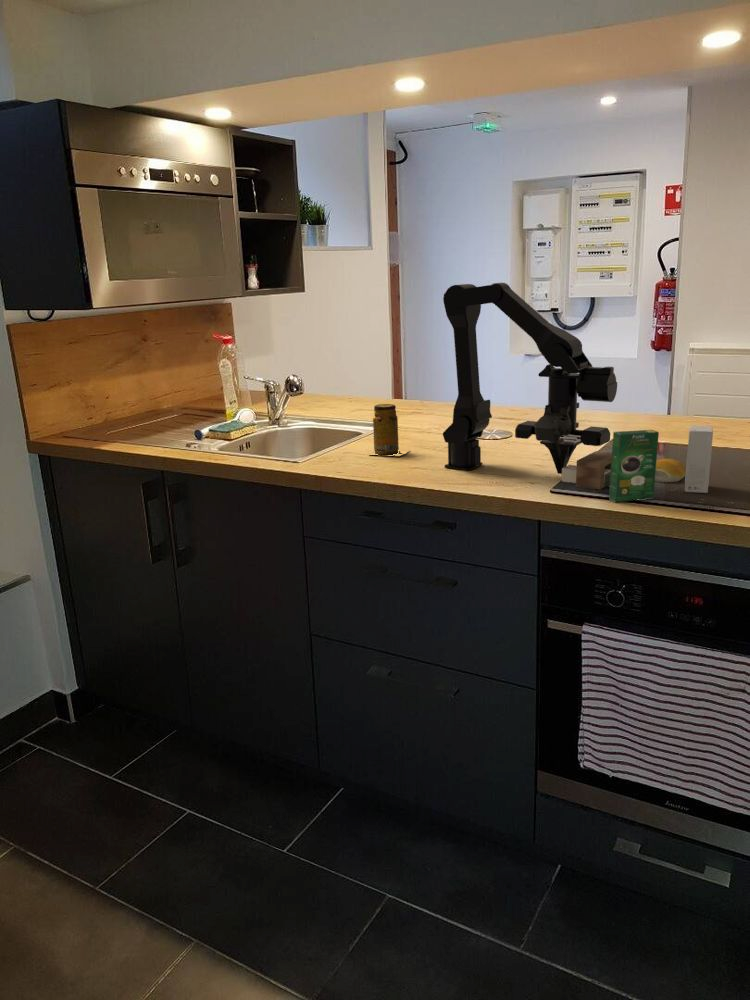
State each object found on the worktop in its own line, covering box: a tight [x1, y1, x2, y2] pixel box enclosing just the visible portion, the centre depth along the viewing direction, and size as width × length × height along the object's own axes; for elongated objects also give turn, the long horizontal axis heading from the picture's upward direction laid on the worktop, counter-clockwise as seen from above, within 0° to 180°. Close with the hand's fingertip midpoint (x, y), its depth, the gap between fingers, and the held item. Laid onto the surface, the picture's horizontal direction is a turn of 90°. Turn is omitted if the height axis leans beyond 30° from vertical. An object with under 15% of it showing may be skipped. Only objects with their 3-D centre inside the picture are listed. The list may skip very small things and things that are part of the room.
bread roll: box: [655, 458, 686, 484], centre depth 161 cm, size 8×9×4 cm
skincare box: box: [684, 424, 714, 494], centre depth 151 cm, size 6×4×12 cm
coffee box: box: [608, 429, 660, 503], centre depth 146 cm, size 8×3×13 cm, turn 101°
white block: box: [561, 464, 611, 487], centre depth 160 cm, size 11×4×3 cm, turn 52°
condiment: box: [372, 403, 400, 458], centre depth 191 cm, size 7×8×12 cm
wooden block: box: [575, 450, 612, 490], centre depth 159 cm, size 5×10×5 cm, turn 143°
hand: (560, 473), depth 164 cm, fingers closed
